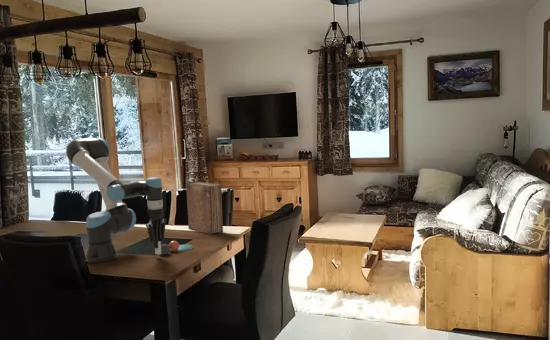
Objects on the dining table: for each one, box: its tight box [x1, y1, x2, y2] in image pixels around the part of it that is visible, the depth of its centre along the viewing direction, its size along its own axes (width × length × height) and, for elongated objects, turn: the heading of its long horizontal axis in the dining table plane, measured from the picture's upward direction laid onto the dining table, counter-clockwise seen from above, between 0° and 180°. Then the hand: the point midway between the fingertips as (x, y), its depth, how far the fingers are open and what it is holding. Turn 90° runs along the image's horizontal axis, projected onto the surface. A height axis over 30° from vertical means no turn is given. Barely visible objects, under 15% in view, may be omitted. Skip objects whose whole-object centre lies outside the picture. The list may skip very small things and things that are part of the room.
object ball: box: [168, 240, 180, 252], centre depth 239 cm, size 6×6×6 cm
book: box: [185, 181, 224, 236], centre depth 282 cm, size 25×9×30 cm, turn 43°
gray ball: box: [160, 243, 171, 256], centre depth 233 cm, size 6×6×6 cm
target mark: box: [170, 244, 194, 253], centre depth 244 cm, size 13×13×1 cm
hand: (158, 253), depth 228 cm, fingers closed
